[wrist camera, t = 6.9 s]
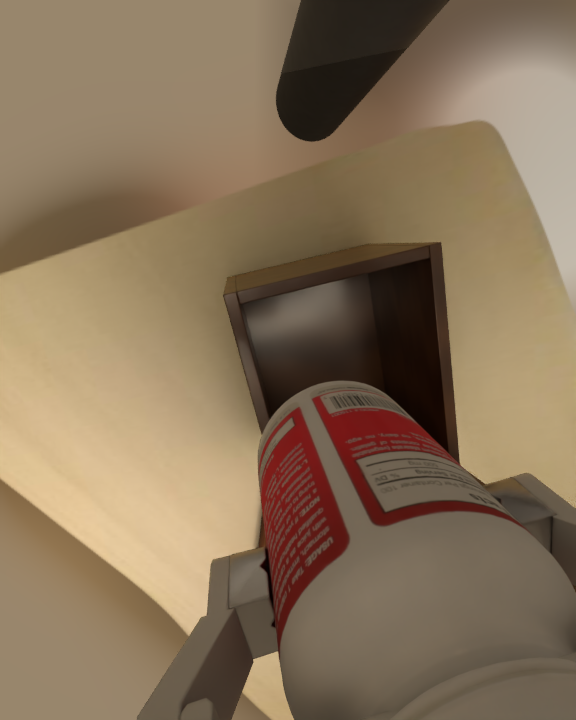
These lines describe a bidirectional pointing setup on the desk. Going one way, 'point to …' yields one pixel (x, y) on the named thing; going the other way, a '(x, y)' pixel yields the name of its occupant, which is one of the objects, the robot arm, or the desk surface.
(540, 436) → the desk surface
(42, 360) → the desk surface
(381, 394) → the pill bottle
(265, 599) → the robot arm
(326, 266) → the box
